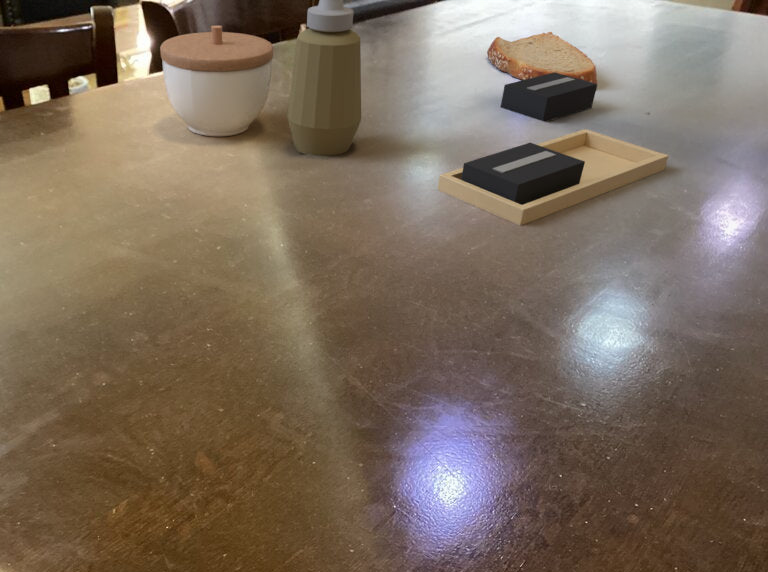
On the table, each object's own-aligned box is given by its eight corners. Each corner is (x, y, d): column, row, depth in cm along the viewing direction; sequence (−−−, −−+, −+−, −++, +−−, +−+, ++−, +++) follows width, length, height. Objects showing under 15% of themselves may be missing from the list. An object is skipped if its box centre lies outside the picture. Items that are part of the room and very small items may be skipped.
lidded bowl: (288, 118, 98) (291, 21, 92) (243, 151, 89) (243, 45, 83) (196, 104, 103) (193, 9, 96) (144, 134, 93) (137, 32, 87)
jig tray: (580, 146, 92) (585, 128, 91) (663, 173, 85) (669, 155, 84) (436, 194, 80) (439, 174, 79) (519, 230, 74) (523, 209, 73)
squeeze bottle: (349, 167, 86) (364, -21, 75) (276, 157, 88) (281, -27, 77) (366, 142, 92) (382, -35, 82) (297, 133, 94) (304, -40, 84)
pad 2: (524, 170, 84) (530, 141, 82) (577, 190, 80) (585, 160, 78) (458, 192, 79) (463, 161, 78) (512, 215, 75) (518, 183, 73)
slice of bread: (590, 94, 108) (598, 65, 106) (461, 73, 116) (465, 45, 113) (619, 64, 120) (626, 37, 118) (501, 47, 128) (505, 21, 126)
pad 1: (549, 95, 108) (554, 71, 106) (591, 108, 103) (598, 83, 101) (499, 108, 103) (504, 83, 101) (542, 122, 98) (548, 96, 97)
